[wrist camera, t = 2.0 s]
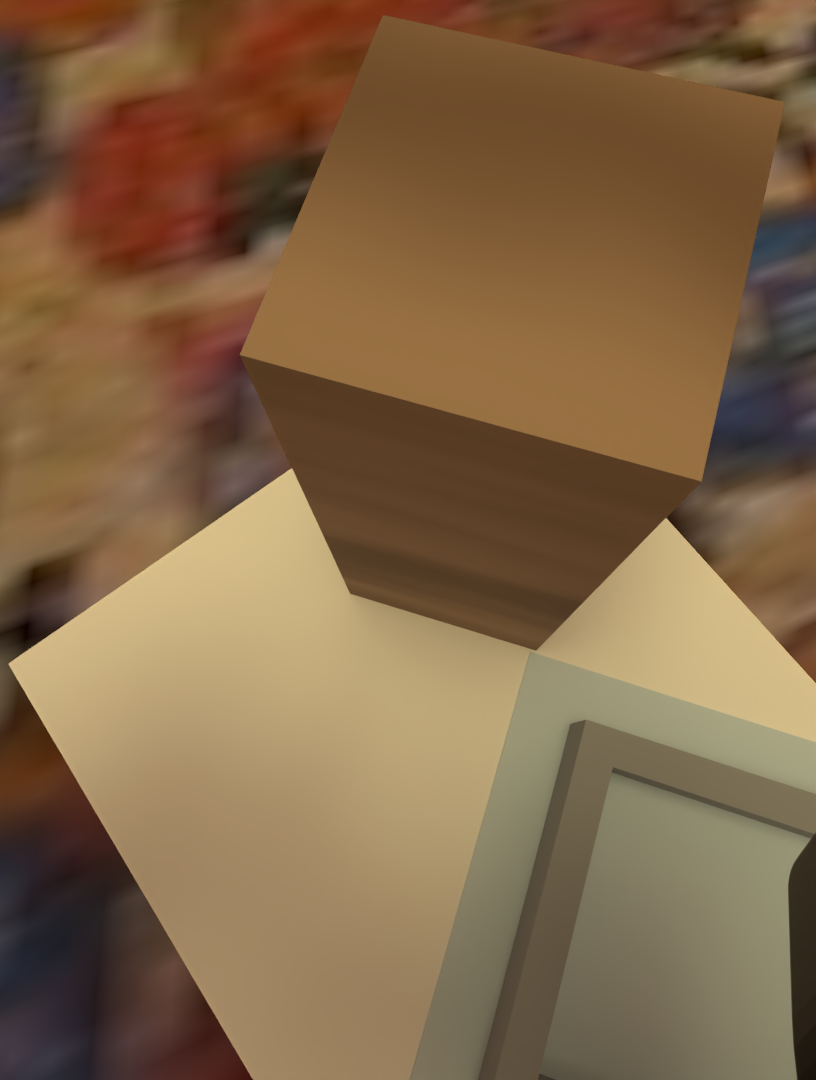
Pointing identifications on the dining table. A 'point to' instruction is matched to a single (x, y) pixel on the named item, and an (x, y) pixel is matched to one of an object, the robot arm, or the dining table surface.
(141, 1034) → the dining table surface
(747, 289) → the dining table surface
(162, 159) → the dining table surface
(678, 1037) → the cream flat board
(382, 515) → the walnut pillar
